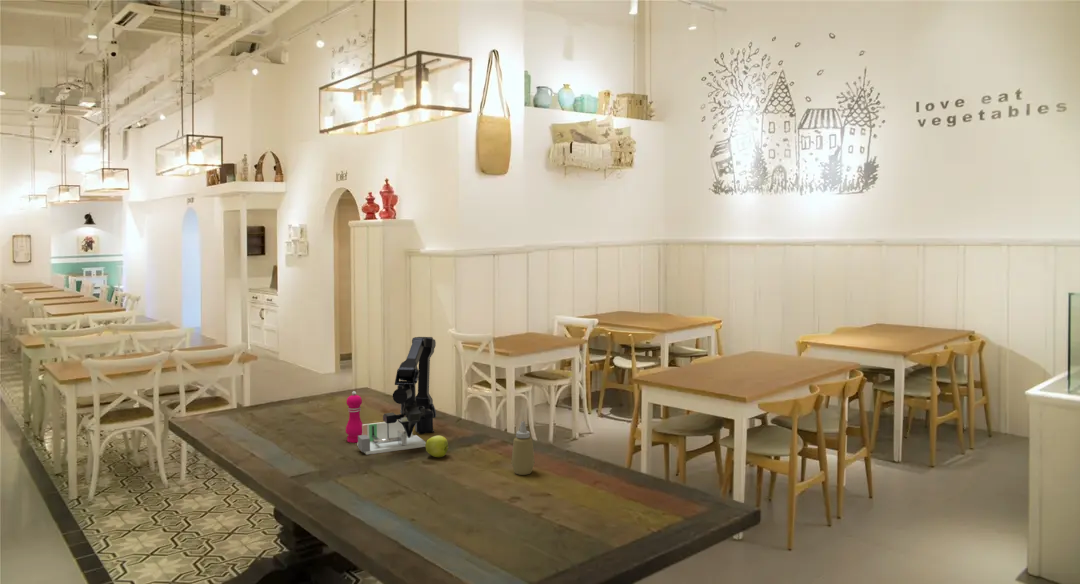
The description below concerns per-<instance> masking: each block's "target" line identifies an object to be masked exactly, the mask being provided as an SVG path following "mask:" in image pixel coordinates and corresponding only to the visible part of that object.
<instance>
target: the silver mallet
mask: <svg viewBox="0 0 1080 584" xmlns="http://www.w3.org/2000/svg"><path fill="white" fill-rule="evenodd" d="M372 438H373V439H374V441H373V443H374V444H381V443H389V442H396V441H398V443H399V444H400V445H401V446H403V445H407V436H406V432H405V431H404V430H398V437H394V438H387V439H379V438H378V437H376V436H375V435H374V426H372Z"/></svg>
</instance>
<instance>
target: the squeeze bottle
mask: <svg viewBox="0 0 1080 584" xmlns="http://www.w3.org/2000/svg"><path fill="white" fill-rule="evenodd" d="M530 434H531V433H530V431H528V430H527V426H526V422H525V421H520V425H519V429H518V430H517V431H516V434H515V436H516V437H514V438H513V442H512V443H513V444H512V452H511V453H512V454H511V466H512V468H513V471H514V474H516V475H520V476H521V475H523V476H525V475H530V474H531V473H532V472H533V469H534V465H535V462H536V461H535V454H534V453H535V452H534V451H535V450H534V444H533V443H534V442H533V438H531V435H530Z"/></svg>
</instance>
